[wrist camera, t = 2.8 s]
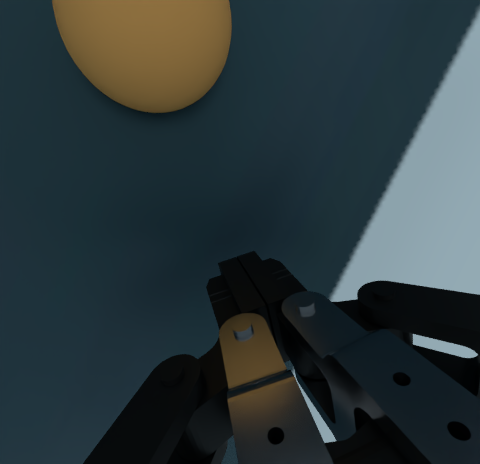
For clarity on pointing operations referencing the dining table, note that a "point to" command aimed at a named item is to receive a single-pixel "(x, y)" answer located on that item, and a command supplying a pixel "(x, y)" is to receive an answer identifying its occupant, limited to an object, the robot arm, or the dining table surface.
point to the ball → (147, 48)
